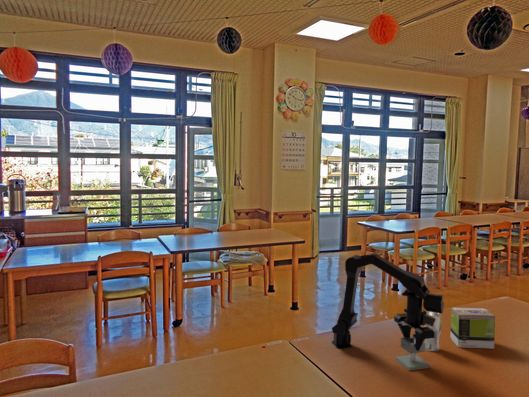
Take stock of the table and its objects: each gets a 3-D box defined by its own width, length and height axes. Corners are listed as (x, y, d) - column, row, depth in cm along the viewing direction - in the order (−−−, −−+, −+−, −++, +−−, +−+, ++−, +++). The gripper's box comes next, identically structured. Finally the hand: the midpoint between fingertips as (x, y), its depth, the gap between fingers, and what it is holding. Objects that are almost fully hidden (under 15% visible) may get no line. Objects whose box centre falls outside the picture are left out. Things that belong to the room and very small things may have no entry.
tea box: (484, 339, 184) (486, 307, 183) (494, 349, 174) (496, 315, 173) (449, 338, 186) (450, 306, 185) (457, 347, 176) (459, 314, 175)
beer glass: (421, 349, 174) (423, 315, 172) (423, 343, 180) (425, 310, 179) (439, 353, 171) (441, 318, 169) (441, 346, 177) (442, 312, 175)
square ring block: (410, 353, 157) (410, 344, 157) (400, 346, 164) (401, 337, 163) (424, 351, 159) (425, 343, 159) (414, 344, 165) (415, 336, 165)
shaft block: (408, 370, 156) (409, 355, 156) (395, 359, 165) (396, 345, 164) (429, 367, 158) (430, 352, 158) (415, 357, 167) (416, 342, 167)
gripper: (448, 315, 153) (446, 355, 154) (418, 298, 171) (416, 335, 172) (422, 317, 150) (420, 358, 151) (394, 300, 168) (392, 337, 169)
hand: (412, 346), depth 161 cm, fingers closed on square ring block, 6 cm apart
